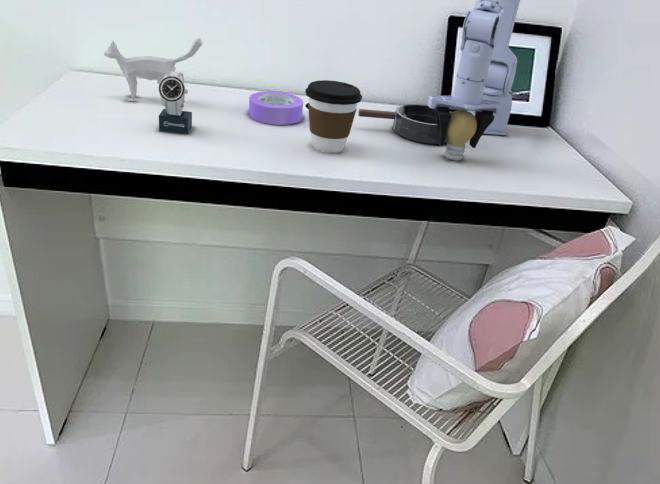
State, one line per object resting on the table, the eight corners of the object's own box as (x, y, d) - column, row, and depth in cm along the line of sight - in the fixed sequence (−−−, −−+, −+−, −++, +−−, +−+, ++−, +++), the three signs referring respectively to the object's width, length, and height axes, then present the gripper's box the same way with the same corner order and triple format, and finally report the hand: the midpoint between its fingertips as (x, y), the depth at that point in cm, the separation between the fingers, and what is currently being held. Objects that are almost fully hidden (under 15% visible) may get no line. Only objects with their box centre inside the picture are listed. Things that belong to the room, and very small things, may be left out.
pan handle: (393, 118, 140) (394, 110, 139) (394, 120, 138) (396, 113, 138) (357, 115, 138) (358, 107, 138) (358, 117, 137) (359, 110, 136)
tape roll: (261, 126, 133) (262, 108, 131) (240, 108, 141) (241, 91, 139) (310, 123, 138) (312, 106, 136) (288, 106, 147) (289, 90, 145)
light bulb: (461, 167, 127) (473, 118, 122) (432, 157, 129) (442, 109, 124) (473, 159, 132) (484, 111, 126) (445, 150, 134) (455, 103, 129)
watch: (156, 134, 122) (154, 76, 116) (166, 121, 129) (164, 65, 123) (186, 137, 122) (185, 80, 117) (194, 124, 129) (193, 69, 123)
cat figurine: (109, 93, 139) (104, 26, 132) (203, 101, 142) (203, 35, 135) (105, 100, 135) (100, 30, 128) (201, 107, 139) (202, 40, 131)
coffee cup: (328, 134, 134) (335, 77, 127) (366, 152, 128) (374, 92, 121) (289, 143, 127) (294, 82, 120) (326, 161, 121) (333, 99, 114)
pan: (446, 125, 149) (450, 107, 146) (463, 147, 137) (467, 127, 135) (387, 121, 147) (390, 101, 144) (399, 142, 135) (402, 122, 132)
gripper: (440, 79, 117) (426, 149, 124) (514, 86, 120) (496, 154, 127) (431, 69, 123) (418, 137, 130) (501, 76, 126) (485, 142, 133)
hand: (456, 145), depth 129 cm, fingers closed on light bulb, 6 cm apart
